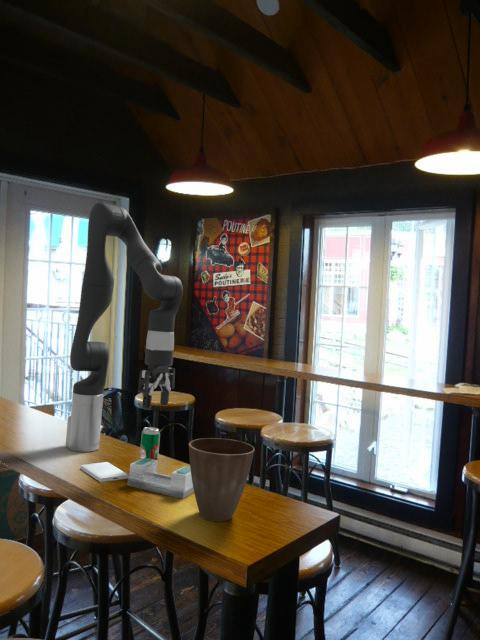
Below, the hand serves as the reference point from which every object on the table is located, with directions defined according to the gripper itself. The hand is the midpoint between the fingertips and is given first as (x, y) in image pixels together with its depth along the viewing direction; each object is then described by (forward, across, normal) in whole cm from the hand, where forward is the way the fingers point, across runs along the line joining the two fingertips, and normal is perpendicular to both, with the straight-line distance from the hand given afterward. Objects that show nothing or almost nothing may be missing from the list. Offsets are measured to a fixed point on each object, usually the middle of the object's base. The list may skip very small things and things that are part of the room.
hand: (155, 406), depth 150 cm
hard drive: (+19, +7, -10) cm, 23 cm away
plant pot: (+19, +15, +28) cm, 37 cm away
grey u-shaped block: (+19, +7, +8) cm, 22 cm away
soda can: (+19, -1, -2) cm, 19 cm away
